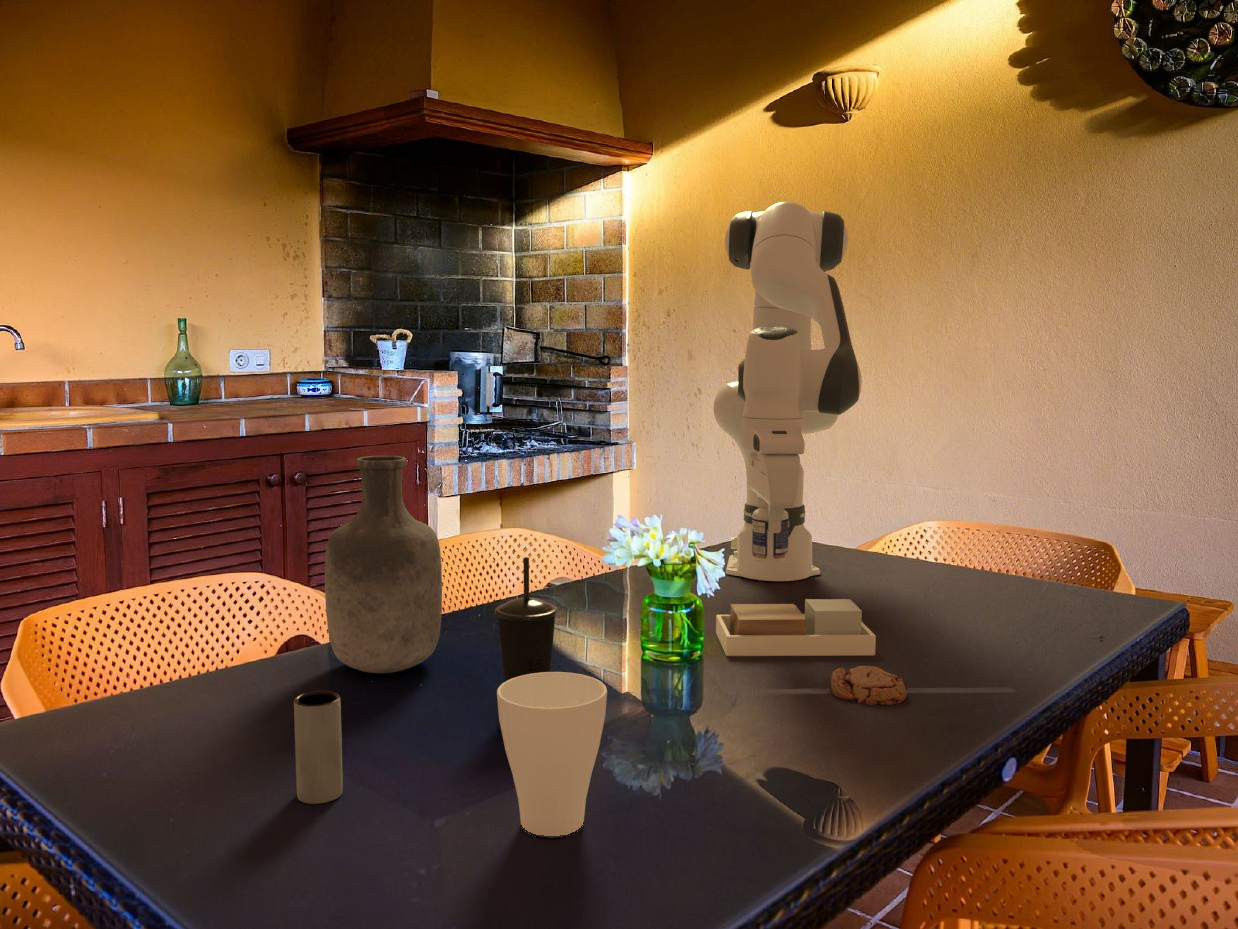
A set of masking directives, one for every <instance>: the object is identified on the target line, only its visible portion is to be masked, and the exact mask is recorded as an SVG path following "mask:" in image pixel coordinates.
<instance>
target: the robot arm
mask: <svg viewBox="0 0 1238 929" xmlns="http://www.w3.org/2000/svg"><path fill="white" fill-rule="evenodd" d="M848 234H849V233H848V229H847V227H846V225H845V220H844V218H842V216H841V215H840V214H837V213H835V212H830V211H826V210H823V211H822V212H820V211H814V210H813V211H812V210H808V209H807V208H806V207H805V206H804V205H801V204H800V203H797V202H793V201H780V202H777V203H775V204H773V205H771V206H769V207H768V208H766V210H764V211H763V210H761V211H755V212H753V211H752V210H748V211H743V212H739V213H736V214H735V216H733V217H732V218H730V222H729V224H728V226H727V229H726V231H725V235H724V244H725V245H724V248H725V252H726V254H727V256H728V261H729V262H730V263H731V265H733V267H735V268H739V269H741V270H746V271H747V270H748V271H749V270H750V273H751V275H750V276H751V282H752V285H753V288H754V290H755V291H754V301H753V314H752V315H753V316H752V317H753V318H752V330H751V331H750V332H749V333H748V337H747V340H746V341H747V342H746V347H745V355H744V359H742V361H740V362H739V364H738V366H737V369H738V370H737V371H738V373H737V374H738V376H737V381H732V382H727V383H725V384H723V385H722V386H721V387H720V388H719V390H718V391H717V393H716V394H715V397H714V401H713V415H714V418H715V421H716V423H717V424H718V426H719V427H720V429H721V430H723V432H724V433H726V434H727V435H729V437H731V438H732V439H733V440H734V442H735V443H736V444H737V445H736V446H738V448H739V450H740V452H741V454H742V457H743V460H744V463H745V464H744V465H745V470H746V471H745V473H746V502H745V503H744V509H743V521H744V523H743V525H742V527H741V529H739V532H738V533H737V536H733V537H731V538H730V548H731V549H732V550H735V551H733V554H730V555H729V558H728V562H727V565H726V570H725V575H730V576H738V577H743V578H746V579H750V580H758V581H766V582H767V581H768V582H791V581H792V582H793V581H799V580H804V579H807V578H809V577H812V576H817V575H820V574H821V570H820V568H818V567H816V566H815V565H813V538H812V535H813V534H812V532H810V531H809V530H808V529H807V528H806V527H805V524H804V523H805V521H806V519H805V518H806V506H805V504H804V480H805V478H804V476H805V475H804V467H803V465H802V463H801V458H800V455H803V454H804V453H805V446H806V444H805V443H806V442H805V438H804V437H803V435H810V434H814V433H818V432H821V431H826V430H829V429H830V428H832V427H833V426H834V425H835V423H836V421H837V420H838V417H839V416H840V415H842V414H844V413H845V412H847V411H848V410H850V409H851V408H852V407H853V406H855V405H856V403H857V402H858V401H859V398H860V396H861V391H862V384H863V383H862V373H861V369H860V365H859V363H858V360H857V357H856V354H855V351H854V350H855V349H854V347H853V343H852V340H851V334H850V330H849V326H848V321H847V316H846V312H845V306H844V303H843V298H842V296H841V295H842V294H841V291H840V288H839V286H838V282H837V280H836V279H835V277H834V276H832V275H831V274H829V273H827V272H828V271H832V270H834V269H835V268H837V267H838V265H840V264H841V263H842V260H843V258H844V257H845V254H846V252H847V250H848V245H849V237H848V236H849V235H848ZM812 320H814V321H815V322H816V323H817V324H818V325H819V326H820V330H821V335H822V340H823V346H824V347H823V348H820V349H812V344H811V342H812V341H811V335H812V333H811V332H812V331H811V328H812V326H811V325H812V324H811V323H812ZM757 496H760V497H761V498H762V499H763V500H764V501H765V502H766V503H767V504H768V510H769V515H768V520H767V529H768V531H769V532H770V533H780V532H781V521H782V517H783V513H784V510H785V511H787V513H788V517H789V519H788V559H787V560H786V561H784V562H779V563H765V562H758V561H755V560H754V559H753V557H752V517H753V512H754V511H755V510H757V509H758V508H759V506H758V505H757Z"/></svg>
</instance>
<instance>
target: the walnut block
mask: <svg viewBox="0 0 1238 929" xmlns="http://www.w3.org/2000/svg"><path fill="white" fill-rule="evenodd" d="M803 614H804V613H802V612H801V610H800V609H799V608H798V606H797V605H796V604H795V603H743V604H742V603H730V613H729V615H730V635H806V620H807V619H806V618H805V617H804V616H803Z"/></svg>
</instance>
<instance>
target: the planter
mask: <svg viewBox="0 0 1238 929" xmlns="http://www.w3.org/2000/svg"><path fill="white" fill-rule="evenodd" d="M293 711H294V712H293V713H294V715H293V718H294V721H293V722H294V742H295V744H294V747H295V774H296V776H295V778H296V779H295V780H296V794H297V795H296V797H297V799H298V801H300V802H302V803H304V804H310V805H316V804H317V805H318V804H326V803H329V802H332V801H334V800H337V799H339V798H340V797H341V796H342V794H343V792H344V790H343V786H344V784H343V779H344V778H343V748H342V746H343V743H342V741H343V739H342V738H343V737H342V707H341V696H340V694H339V693H337V692H334V691H330V690H316V691H314V690H313V691H309V692H306V693H302V694H298V695H297V696H296V697H295V698H294V700H293Z"/></svg>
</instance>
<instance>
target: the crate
mask: <svg viewBox="0 0 1238 929" xmlns="http://www.w3.org/2000/svg"><path fill="white" fill-rule="evenodd" d="M802 614H803V616H804V617H805V613H802ZM715 621H716V622H715V634H716V636H717V639H718V641H719V643H720V644H721V647H722V649H723V651H724V654H725V656H726V657H771V656H772V657H774V656H775V657H791V656H792V657H802V656H804V657H807V656H808V657H810V656H811V657H813V656H814V657H815V656H816V657H817V656H819V657H820V656H821V657H822V656H829V657H831V656H833V657H836V656H838V657H839V656H841V657H842V656H846V657H847V656H854V657H855V656H876V646H877V645H876V642H877V641H876V640H877V639H876V638H877V636H876V634H874V632H873V631H871V629H870V628H868V626H867V625H865V623H864V622H863V621H862V622H861V635H730V614H716V616H715Z"/></svg>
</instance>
